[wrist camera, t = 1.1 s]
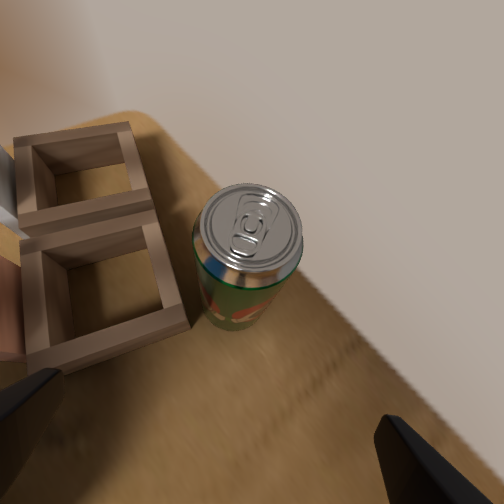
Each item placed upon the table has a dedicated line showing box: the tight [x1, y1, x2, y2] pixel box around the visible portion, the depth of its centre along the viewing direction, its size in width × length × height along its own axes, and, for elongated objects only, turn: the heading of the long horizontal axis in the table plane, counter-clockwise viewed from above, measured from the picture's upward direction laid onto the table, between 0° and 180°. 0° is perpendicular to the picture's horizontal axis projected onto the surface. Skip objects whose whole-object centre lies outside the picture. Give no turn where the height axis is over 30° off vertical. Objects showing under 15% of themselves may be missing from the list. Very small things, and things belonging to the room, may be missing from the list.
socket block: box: [0, 121, 191, 377], centre depth 20 cm, size 19×10×6 cm, turn 22°
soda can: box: [192, 183, 303, 331], centre depth 16 cm, size 5×5×12 cm
